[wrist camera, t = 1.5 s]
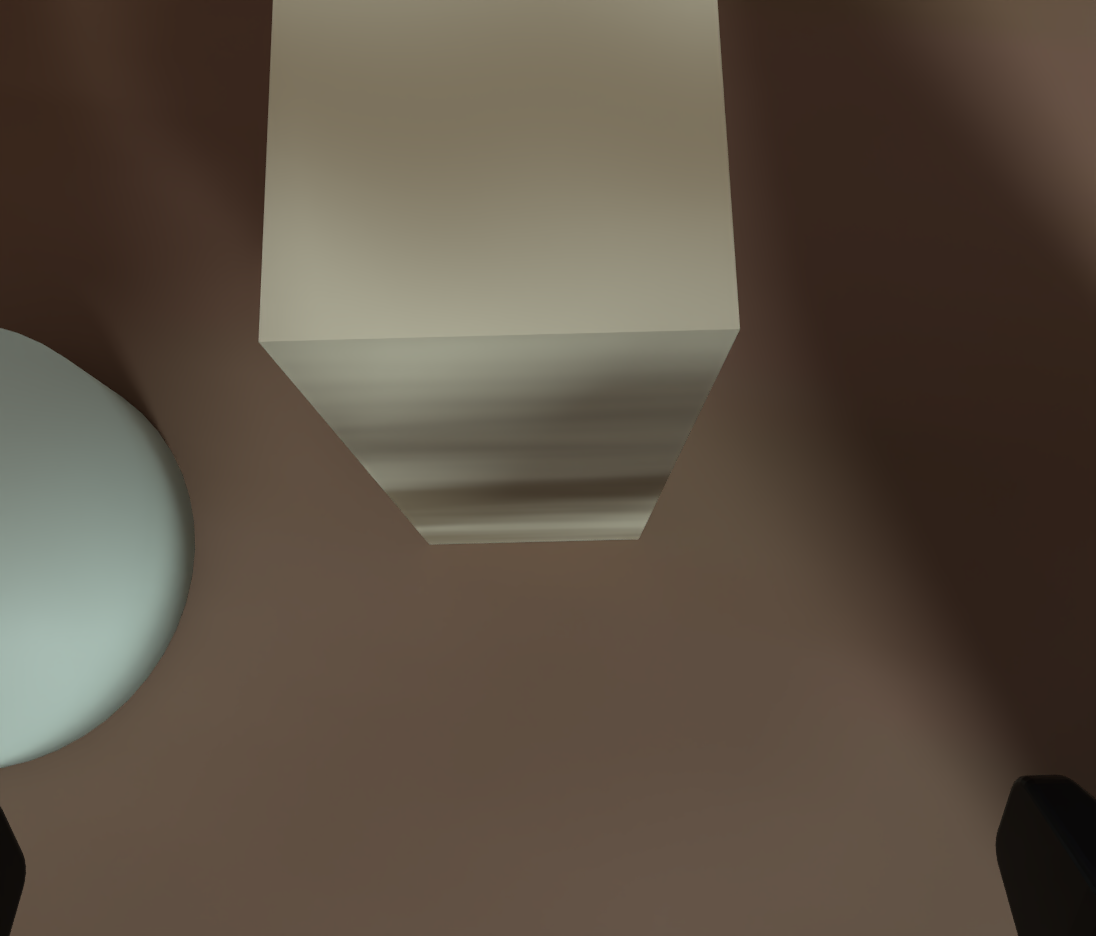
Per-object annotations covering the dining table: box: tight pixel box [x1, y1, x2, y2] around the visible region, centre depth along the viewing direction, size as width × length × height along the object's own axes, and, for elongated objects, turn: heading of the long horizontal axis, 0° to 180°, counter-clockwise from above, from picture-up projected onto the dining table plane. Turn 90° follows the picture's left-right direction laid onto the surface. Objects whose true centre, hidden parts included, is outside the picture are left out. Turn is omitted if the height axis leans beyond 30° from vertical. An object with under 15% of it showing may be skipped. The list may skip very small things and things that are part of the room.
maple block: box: [259, 0, 740, 544], centre depth 17 cm, size 5×5×13 cm
